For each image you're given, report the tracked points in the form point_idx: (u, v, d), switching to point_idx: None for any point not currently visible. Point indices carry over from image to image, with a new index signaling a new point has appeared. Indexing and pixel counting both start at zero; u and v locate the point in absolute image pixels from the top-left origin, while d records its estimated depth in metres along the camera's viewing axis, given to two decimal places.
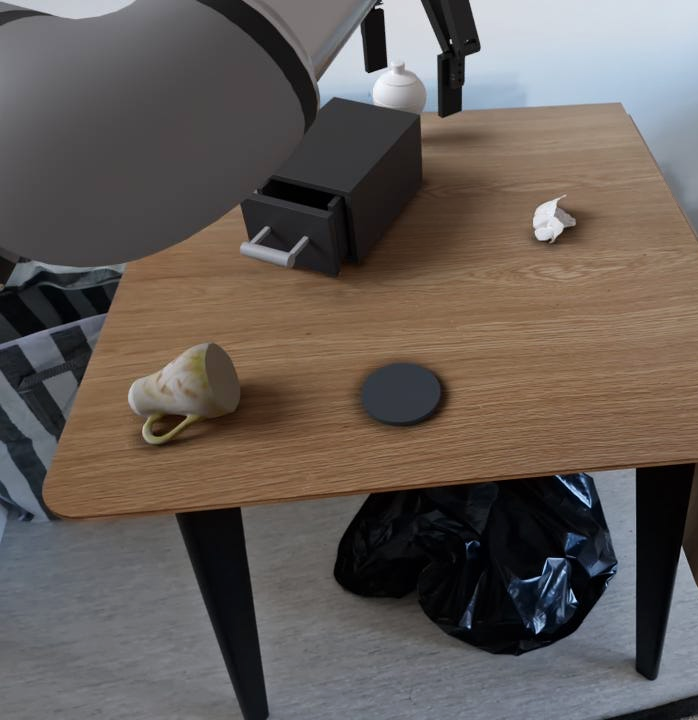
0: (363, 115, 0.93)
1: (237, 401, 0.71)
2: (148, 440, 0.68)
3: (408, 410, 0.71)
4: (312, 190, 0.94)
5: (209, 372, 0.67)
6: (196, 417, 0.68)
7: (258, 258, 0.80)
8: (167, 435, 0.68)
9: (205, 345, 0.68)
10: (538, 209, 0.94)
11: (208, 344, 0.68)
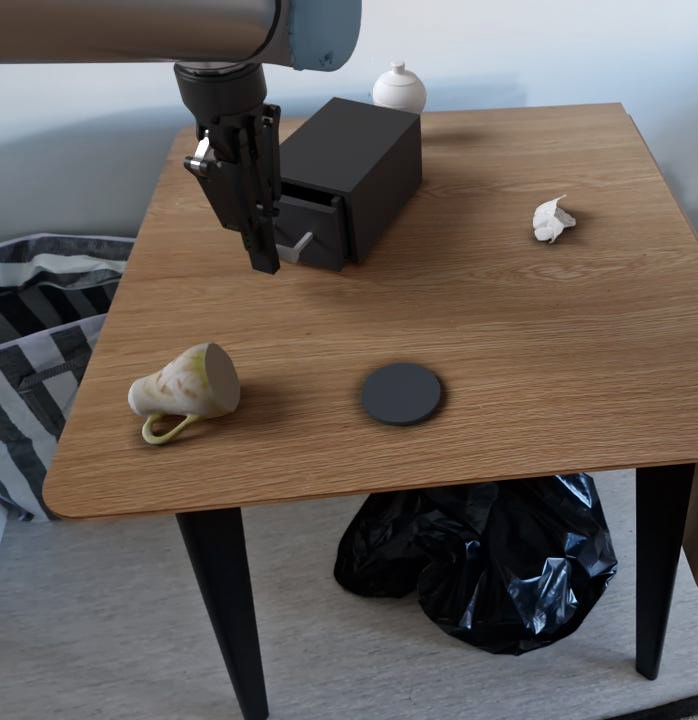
0: (363, 115, 0.93)
1: (237, 401, 0.71)
2: (148, 440, 0.68)
3: (408, 410, 0.71)
4: None
5: (209, 372, 0.67)
6: (196, 417, 0.68)
7: None
8: (167, 435, 0.68)
9: (205, 345, 0.68)
10: (538, 209, 0.94)
11: (208, 344, 0.68)
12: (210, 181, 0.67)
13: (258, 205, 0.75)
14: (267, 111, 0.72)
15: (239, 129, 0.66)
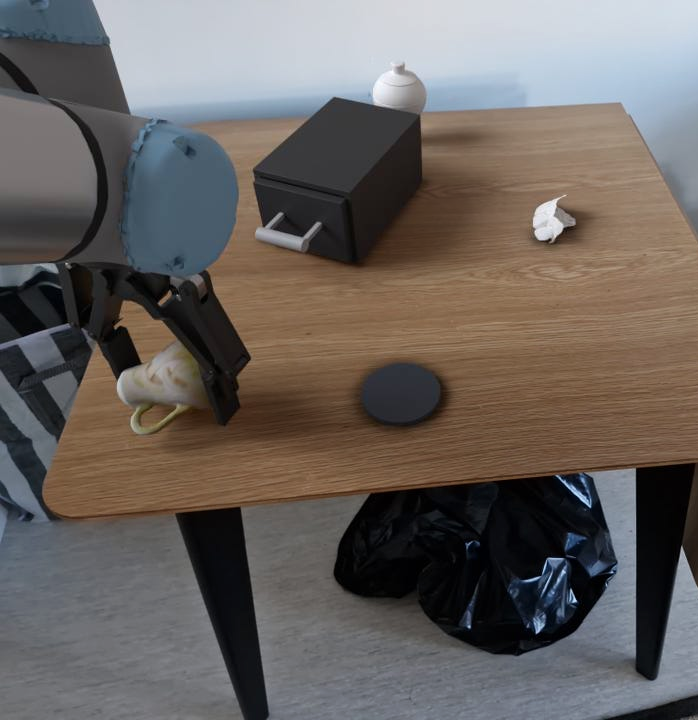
0: (363, 115, 0.93)
1: None
2: (136, 431, 0.66)
3: (408, 410, 0.71)
4: None
5: None
6: (186, 407, 0.66)
7: (273, 243, 0.82)
8: (156, 426, 0.66)
9: None
10: (538, 209, 0.94)
11: None
12: (208, 300, 0.58)
13: (106, 326, 0.66)
14: None
15: None
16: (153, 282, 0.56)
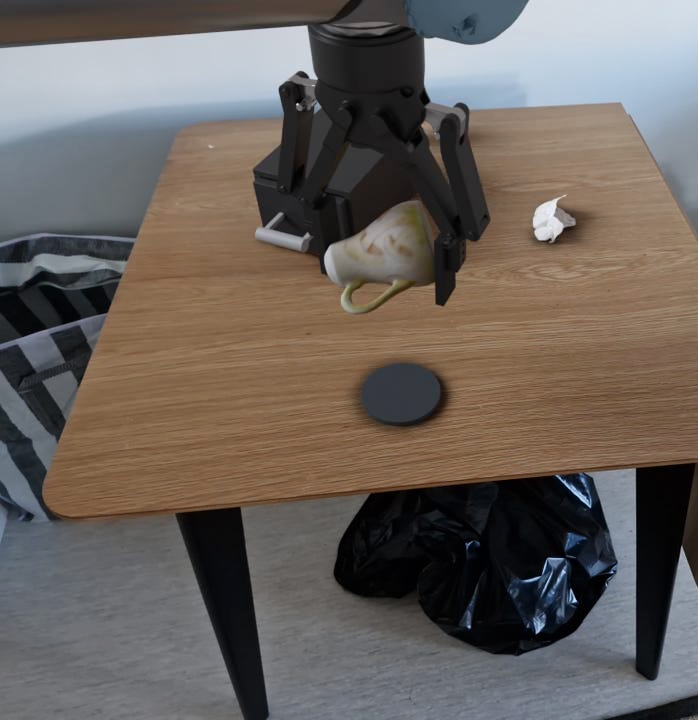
0: None
1: None
2: (349, 309, 0.59)
3: (408, 410, 0.71)
4: None
5: (424, 228, 0.58)
6: (405, 282, 0.59)
7: (273, 243, 0.82)
8: (371, 303, 0.59)
9: (415, 201, 0.59)
10: (538, 209, 0.94)
11: (417, 200, 0.60)
12: (463, 142, 0.51)
13: None
14: None
15: None
16: (408, 118, 0.49)
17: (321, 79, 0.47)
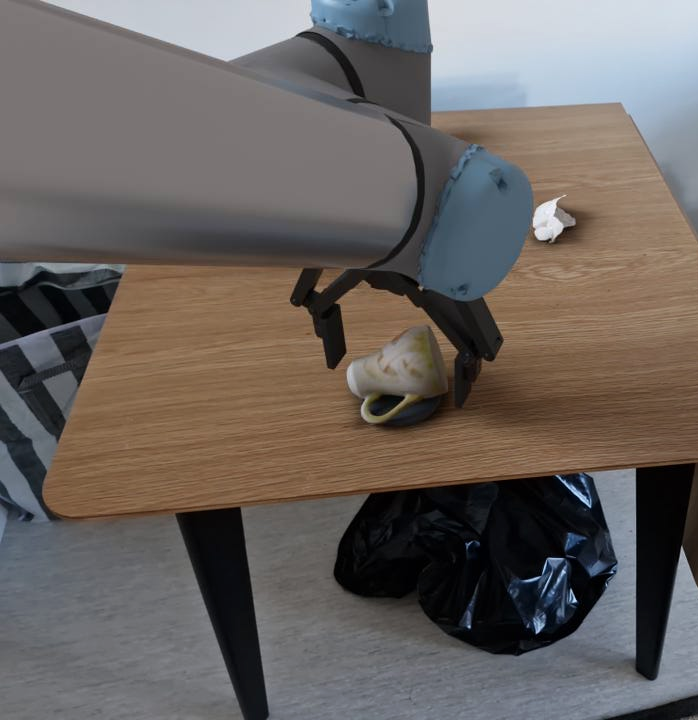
0: None
1: (447, 382, 0.72)
2: (368, 419, 0.70)
3: (408, 410, 0.71)
4: None
5: (432, 353, 0.68)
6: (416, 397, 0.69)
7: None
8: (387, 414, 0.69)
9: (424, 327, 0.70)
10: (538, 209, 0.94)
11: (426, 326, 0.70)
12: None
13: None
14: None
15: None
16: None
17: None
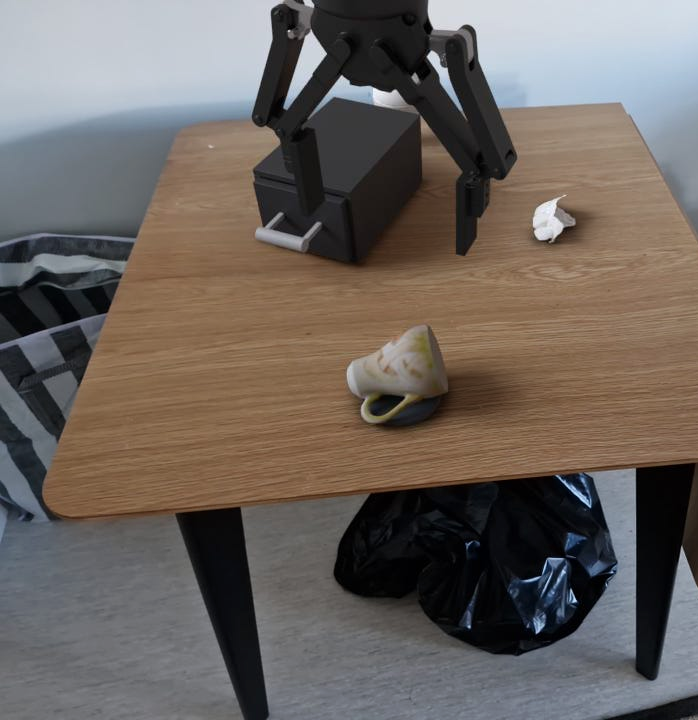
0: (363, 115, 0.93)
1: (447, 382, 0.72)
2: (368, 419, 0.70)
3: (408, 410, 0.71)
4: None
5: (432, 353, 0.68)
6: (416, 397, 0.69)
7: (273, 243, 0.82)
8: (387, 414, 0.69)
9: (424, 327, 0.70)
10: (538, 209, 0.94)
11: (426, 326, 0.70)
12: (474, 68, 0.47)
13: None
14: None
15: None
16: (410, 49, 0.46)
17: (317, 4, 0.44)
